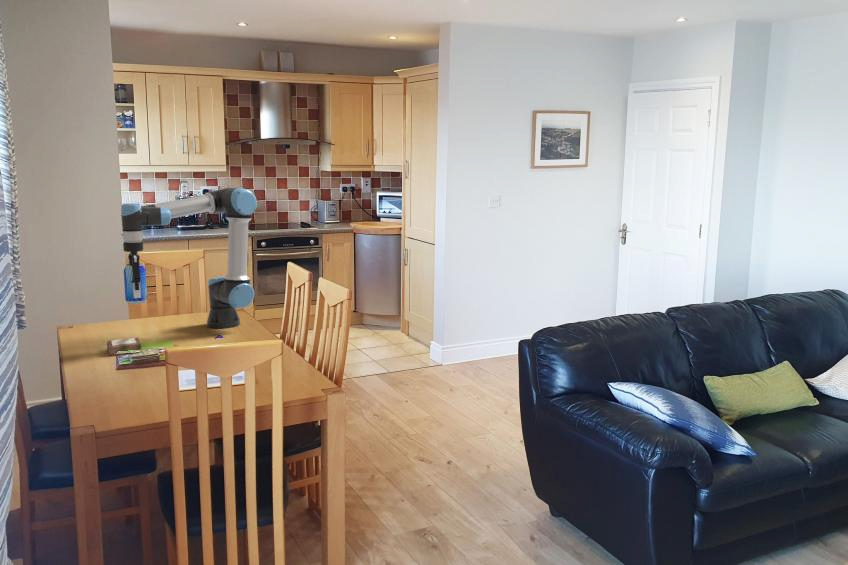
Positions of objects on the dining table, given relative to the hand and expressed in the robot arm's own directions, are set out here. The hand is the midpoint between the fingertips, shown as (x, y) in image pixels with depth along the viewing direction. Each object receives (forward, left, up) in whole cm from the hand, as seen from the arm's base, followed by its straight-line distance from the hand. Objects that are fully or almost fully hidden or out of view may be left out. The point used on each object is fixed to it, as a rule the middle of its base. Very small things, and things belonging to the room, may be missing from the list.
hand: (136, 296), depth 298 cm
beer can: (0, 0, -3) cm, 3 cm away
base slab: (+6, +2, -22) cm, 23 cm away
